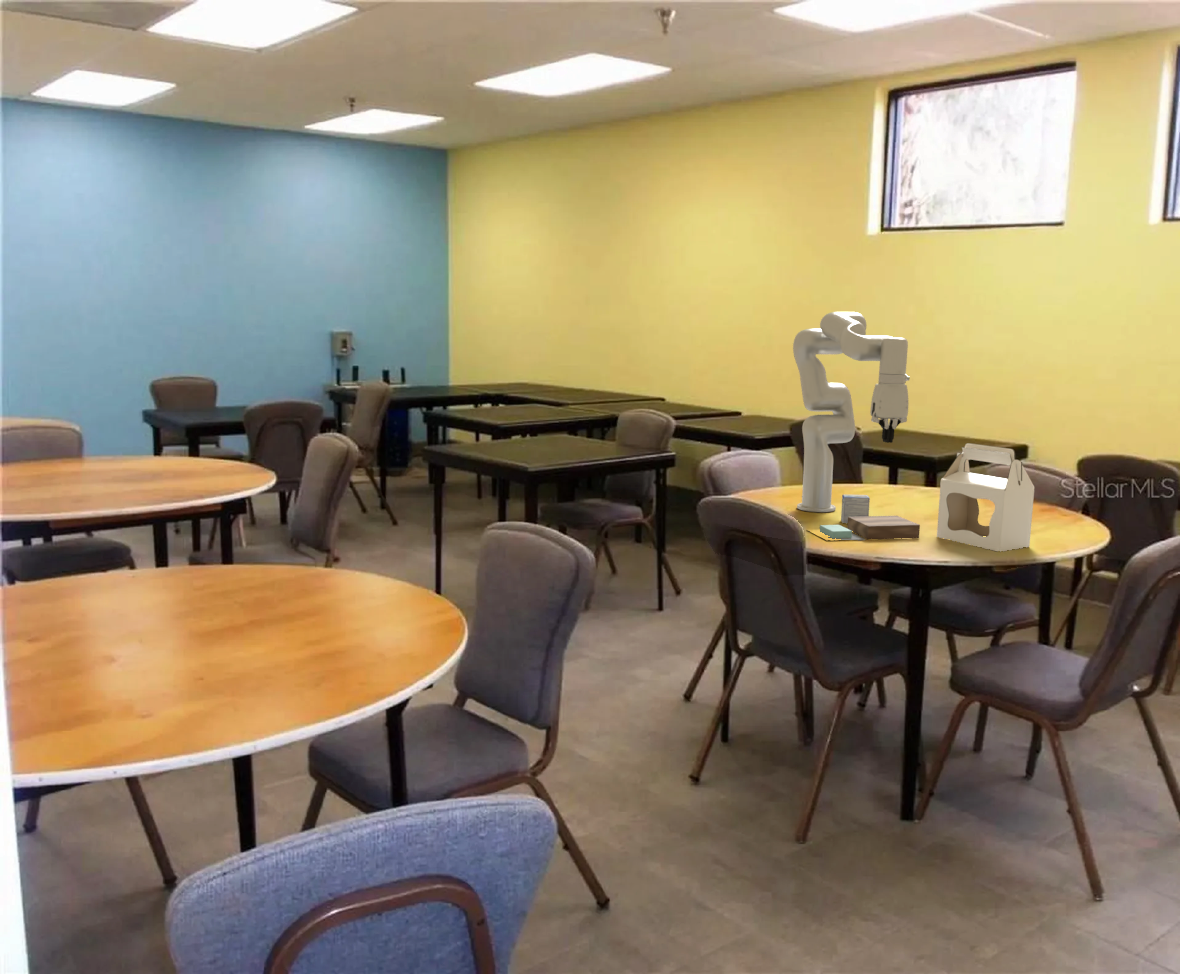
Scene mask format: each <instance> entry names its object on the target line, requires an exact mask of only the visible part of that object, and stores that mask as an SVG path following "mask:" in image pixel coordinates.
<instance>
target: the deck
mask: <svg viewBox="0 0 1180 974" xmlns="http://www.w3.org/2000/svg"><path fill="white" fill-rule="evenodd" d="M920 527H921V525H920V524H919V523H917V522H914V521H912V520H908V519H907V518H905V517H904V518H903V517H901V516H899V515H873V516H872V515H871V516H870V515H869V516H863V517H848V524H847V526H846V528H847V529H849V530H851V531H853V532H854V534H855V533H856V535H858V536H859V535H860V537H861V536H862V538H864V539H865V538H866V540H867V539H878V540H895V539H894V538H901V539H902V538H912V539H920ZM853 532H852V533H853ZM901 539H900V540H901ZM902 540H903V539H902Z"/></svg>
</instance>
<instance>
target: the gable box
mask: <svg viewBox="0 0 1180 974" xmlns="http://www.w3.org/2000/svg"><path fill="white" fill-rule="evenodd" d="M961 449H962V452H957V453H956V457H955V459H954V460H953V462H952V463H951V465H950V466H949V467H948V468H947V470H946V472H945V473H944V474H943V476H942V477H941V479H940V483H939V484H940V485H939V487H940V489H939V501H938V515H937V528H936V530H937V531H936V537H937V538H938V537H939V539H942V538H944V539H943V540H946V539H950V540H952V542H955V541H957V542H956V543H959V542H960V544H963V543H965V544H964V545H968V544H970V545H969V546H972V545H973V547H976V546H977V548H980V547H982V549H986V550H989V549H990V551H994V552H998V551H1000V552H999V553H1001V551H1003V552H1008V551H1007V550H1009V551H1013V550H1012V549H1015V550H1018V549H1019V548H1020V549H1024V548H1023V547H1026V548H1029V547H1030V544H1031V534H1032V533H1031V532H1032V531H1031V530H1032V519H1033V509H1034V497H1035V485H1034V484H1033V481H1032V480H1031V478H1030V476H1029V474H1028V472H1027V471H1026V469H1025V467H1024V465H1023V461H1020V460H1019V459H1017V458H1016V451H1015V450H1014V449H1013V448H1007V447H999V446H993V445H986V444H977V443H970V442H969V443H965V445H964V446H961ZM971 460H973V461H979V462H986V463H993V464H1000V465H1005V466H1007V467H1008V466H1009V470H1008V476H1007V477H1001V476H995V475H994V476H993V475H988V474H982V473H976V472H971V471H970V463H969V461H971ZM979 499H981V500H989V501H990V502H992V503H993V504H994V511H993V513H992V515H991V517H990V520H989V524H988V525H982V524H980V523H979V520H978V519H979V515H980V507H979V502H978V500H979ZM983 536H986V537H983ZM950 540H949V541H950ZM1020 549H1019V550H1020Z"/></svg>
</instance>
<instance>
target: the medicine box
mask: <svg viewBox="0 0 1180 974" xmlns="http://www.w3.org/2000/svg"><path fill="white" fill-rule="evenodd" d="M870 500H871V498H870V497H869V495H867V494H844V493H843V494H842V497H841V512H840V514H841V515H840V516H841V518H840V521H841V523H842V524H843V523H846V524H847V523H848V517H863V516H870ZM846 524H845V525H846ZM847 525H848V524H847Z"/></svg>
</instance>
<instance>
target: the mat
mask: <svg viewBox="0 0 1180 974" xmlns="http://www.w3.org/2000/svg"><path fill="white" fill-rule="evenodd" d="M828 538H831V537H828ZM832 539H835V538H832ZM836 539H841V540H858V541H866V540H867V539H865V538H863V537H861V536H859V535H857V534H855V533H853V532H852V538H836Z"/></svg>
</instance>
